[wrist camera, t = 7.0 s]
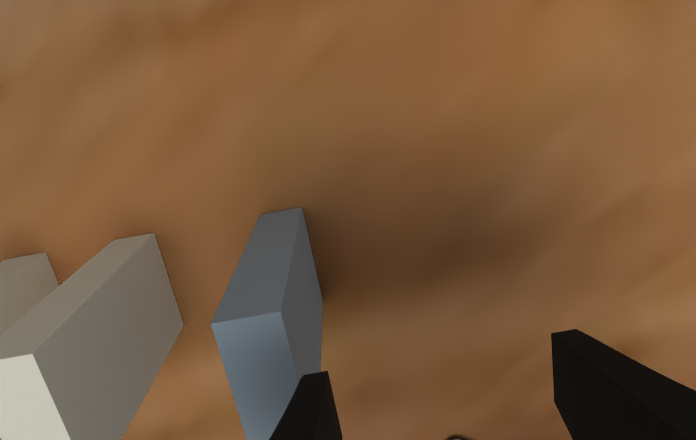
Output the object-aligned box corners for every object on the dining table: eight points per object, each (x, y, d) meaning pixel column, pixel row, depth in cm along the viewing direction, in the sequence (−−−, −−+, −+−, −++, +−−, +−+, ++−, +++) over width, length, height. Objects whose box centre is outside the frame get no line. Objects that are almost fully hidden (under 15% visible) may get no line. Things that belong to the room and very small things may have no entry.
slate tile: (301, 206, 21) (280, 311, 12) (322, 301, 22) (317, 453, 14) (260, 214, 21) (210, 323, 12) (284, 308, 22) (254, 464, 14)
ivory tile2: (154, 233, 21) (32, 353, 12) (183, 325, 22) (93, 490, 14) (113, 239, 21) (-36, 365, 13) (145, 332, 22) (32, 500, 14)
